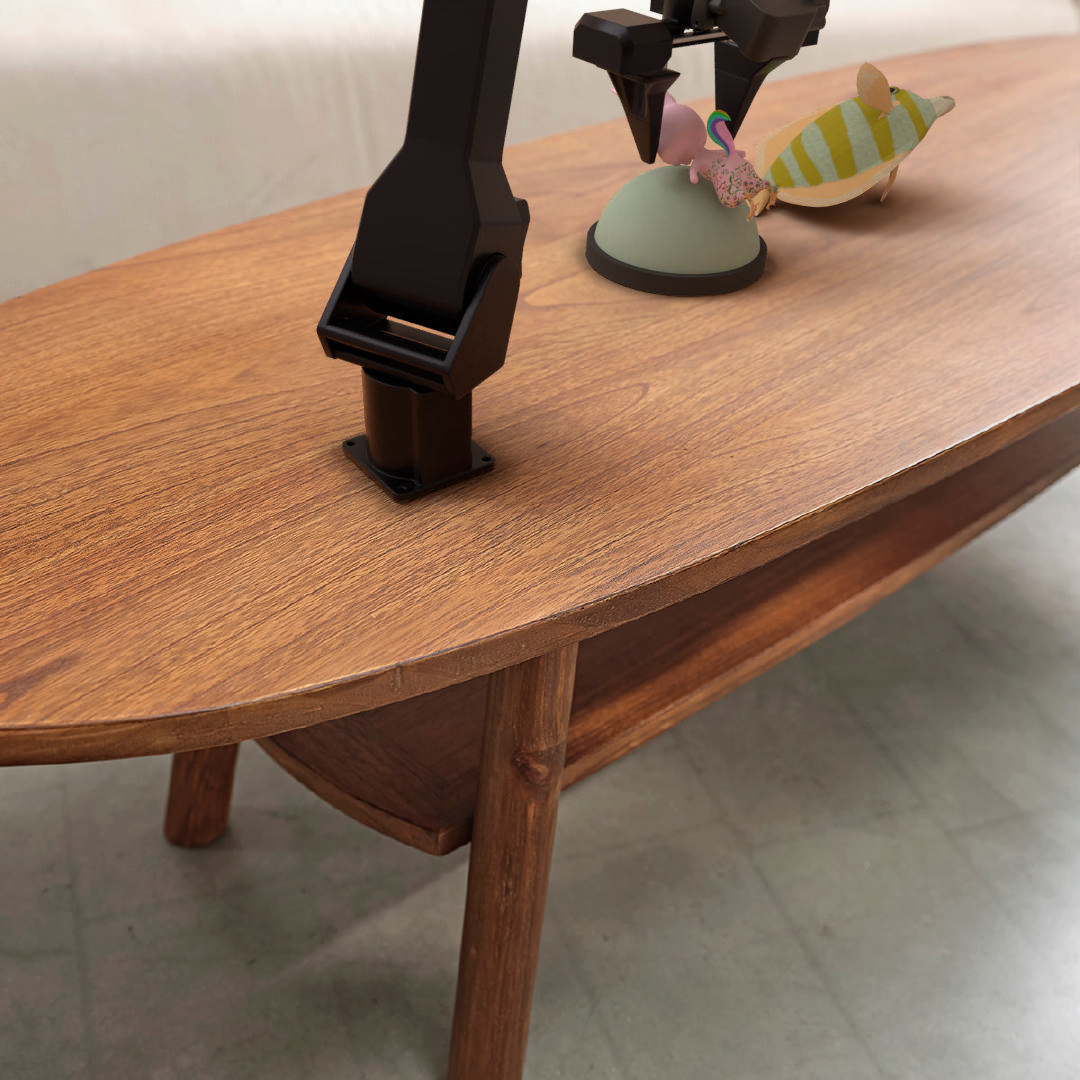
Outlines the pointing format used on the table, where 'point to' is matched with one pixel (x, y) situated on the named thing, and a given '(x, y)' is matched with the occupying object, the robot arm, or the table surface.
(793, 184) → the decorative fish sculpture
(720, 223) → the dome on round base
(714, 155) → the rabbit figure
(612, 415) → the table surface
